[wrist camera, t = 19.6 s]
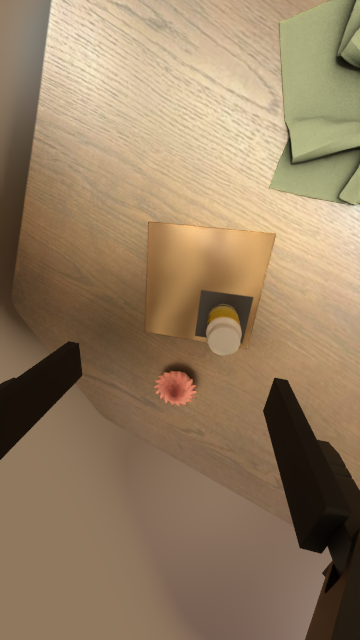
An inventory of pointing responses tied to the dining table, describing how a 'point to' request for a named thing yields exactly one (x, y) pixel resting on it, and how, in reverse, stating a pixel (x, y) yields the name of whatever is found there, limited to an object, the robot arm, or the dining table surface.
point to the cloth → (321, 103)
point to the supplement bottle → (223, 330)
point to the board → (203, 277)
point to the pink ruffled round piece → (175, 387)
